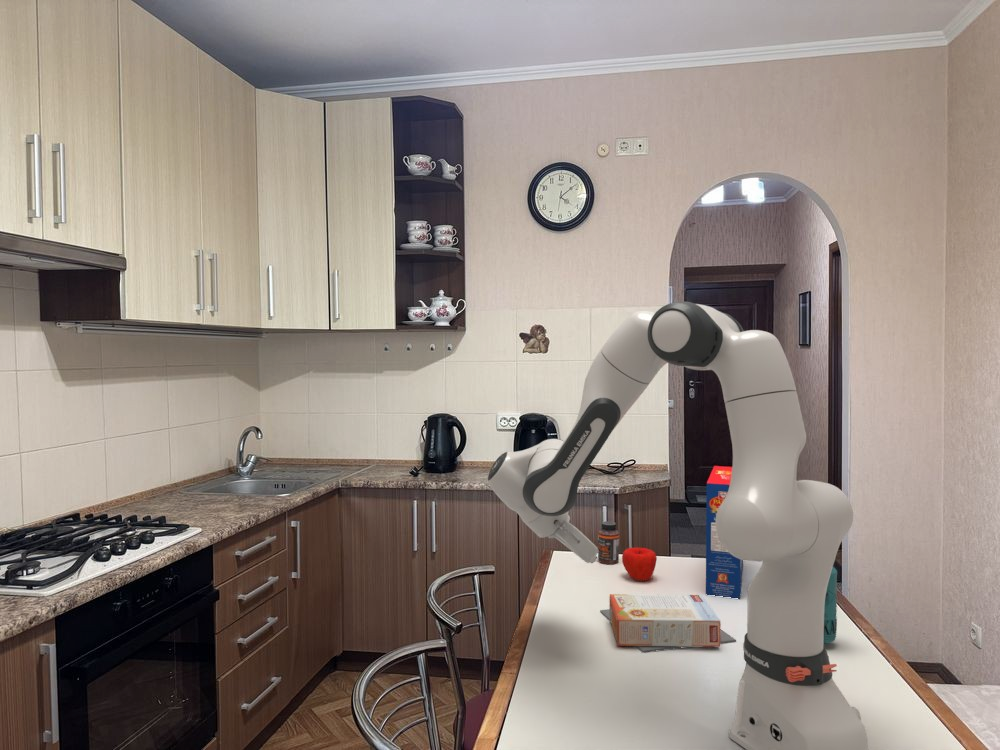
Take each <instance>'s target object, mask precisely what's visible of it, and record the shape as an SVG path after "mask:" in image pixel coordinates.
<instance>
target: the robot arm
mask: <svg viewBox="0 0 1000 750" xmlns="http://www.w3.org/2000/svg"><path fill="white" fill-rule="evenodd" d="M667 364H670V365H673V366H678V367H685V368H686V369H688V370H689V369H690V370H694V371H712V372H714V373H715V374H716V376H717V377H718V380H719V382H720V385H721V390H722V395H723V400H724V405H725V406H724V407H725V411H726V416H727V417H726V418H727V421H728V422H727V423H728V426H729V427H728V428H729V432H730V433H729V435H730V440H731V444H732V445H731V446H732V466H731V467H732V474H731V481H730V486H729V490H728V493H727V495H726V497H725V499H724V501H723V502H722V504H721V505H720V507H719V509H718V511H717V514H716V531H717V534H718V537H719V540H720V542H721V543H722V545H723V546H724V548H725V549H726V550H727V551H728V552H729V553H730V554H731V555H733V556H734V557H736V558H738V559H741V560H743V561H746V562H747V561H748V562H749V561H750V562H762V563H761V566H760V568H759V569H758V572H757V573H756V574H755V576H754V577H753V579H752V580H751V581H750V582H749V586H748V587H747V588H748V589H747V597H746V598H747V599H746V600H747V605H746V606H747V607H746V608H747V609H746V610H747V615H746V619H747V621H746V622H747V623H746V627H747V630H746V633H745V634H744V640H743V645H742V648H743V649H742V650H743V660H744V661H745V666H744V669H743V672H742V675H741V678H740V679H739V682H738V688H737V696H736V697H737V698H736V709H735V716H734V717H735V718H734V722H733V724H732V725H731V726H730V727H729V731H728V737H729V738H730V739H731V740H733V742H736V743H737V744H738V745H740V746H741V747H742V748H743V749H745V750H869V742H868V741H869V740H868V735H867V731H866V727H865V725H864V723H863V722H862V718H861V713H860V711H859V709H858V708H857V707H855V706H851V704H850V703H849V701H848V700H847V699H846V697H845V695H844V694H843V693H842V691H841V690H840V688H839V687H838V685H837V683H836V682H835V681H834V679H833V673H835V672H837V671H838V670H837V669H834V668H836V667H837V663H833V664H832V663H831V662H830V657H829V654H828V652H827V648H826V645H825V644H824V643H823V641H824V606H825V596H826V591H827V586H828V582H829V578H830V575H831V571H832V568H833V567H834V564H835V561H836V558H837V557H836V556H837V554H838V550H839V548H840V547H841V546H840V545H841V543H842V542H843V539H844V538H845V536H846V535H847V534H848V532H849V531H850V530H851V528H852V526H853V521H854V512H853V507H852V504H851V502H850V500H849V498H848V497H847V495H846V494H845V493H844V492H843V491H842V490H841V489H840V488H839V487H837V486H836V485H833V484H831V483H827V482H824V481H820V480H811V479H810V480H809V479H799V480H797V471H798V463H799V462H798V461H799V458H800V455H801V453H802V451H803V449H804V448H805V445H806V443H807V434H806V433H807V432H806V428H805V423H804V419H803V416H802V415H803V414H802V410H801V405H800V400H799V396H798V392H797V388H796V383H795V379H794V377H793V372H792V369H791V367H790V364H789V361H788V358H787V356H786V354H785V351H784V349H783V347H782V345H781V343H780V341H779V339H778V338H777V337H776V336H775V335H774V334H773V333H771V332H768V331H764V330H760V329H750V330H744V329H743V327H742V325H741V323H739V321H737V319H735V318H734V317H733V316H731V315H730V314H728V313H725V312H722V311H720V310H717V309H716V308H714V307H712V306H709V305H704V304H701V303H700V304H699V303H695V302H691V301H675V302H671V303H667V304H666V305H663V306H662V307H660V308H659V309H658V310H656V312H654V311H651V310H637V311H635V312H632V314H630V315H629V317H627V318H626V319H625V320H624V321H623V322H622V323H621V324H620V325H619V326H618V327H617V329H616V330H615V331H613V333H612V334H611V335H610V337H609V338H608V339H607V340H606V342H605V343H604V344H603V346H602V347H601V348H600V350H599V352H598V353H597V355H596V356H595V358H594V360H593V361H592V364H591V365H590V367H589V369H588V372H587V374H586V377H585V379H584V383H583V390H582V397H581V402H580V406H579V407H580V408H579V411H578V414H577V418H576V420H575V423H574V425H573V426H572V428H571V430H570V432H569V433H568V435H567V436H566V438H565V439H564V440H563V439H561V438H547V439H544V440H542V441H540V442H539V443H538V444H536V445H533V446H531V447H529V448H526V449H523V450H518V451H505V452H504V453H503V452H502V453H501V454H500V456H498V458H496V460H495V461H494V463H493V464H492V466H491V467H490V469H489V473H488V476H487V483H488V485H489V487H490V489H491V490H492V491H493V493H494V494H495V495H496V496H497V497H498V498H499V499H500V501H501V502H502V503H503V504H505V506H507V508H508V509H510V510H512V512H513V511H514V512H515V513H517V515H518V516H519V517H520V519H521V521H522V522H523V523H524V524H525V525H526V526H527V527H528V528H529V529H530V530H531V531H532V532H533V533H534V534H535V535H536V536H537V537H538V538H541V539H542V538H543V539H544V538H548V539H556V540H557V541H559V542H560V543H561V544H563V545H564V546H565V547H566V548H567V549H569V550H570V551H571V552H573V554H575V555H576V556H577V557H579V558H580V559H581V560H582V561H584V562H585V563H587V564H594V562H595V561H597V559H598V552H599V550H598V546H596V544H594V543H593V541H592V540H590V539H589V538H588V537H587V536H586V535H585V534H584V533H583V532H582V531H581V530H579V529H578V528H577V527H576V526H575V525H573V524H572V523H570V521H571V520H570V519H571V517H570V515H569V512H570V511H571V510H572V508H573V507H574V505H575V504H576V502H577V496H578V491H579V485H580V482H581V480H582V478H583V477H584V475H585V474H586V472H587V470H588V469H589V468H590V466H591V465H592V463H593V461H594V460H595V458H596V457H597V455H598V454H599V453H600V451H601V450H602V447H604V445H605V444H606V442H607V440H608V439H609V437H610V436H611V434H612V432H613V431H614V430H615V428H616V427H617V426H618V425H619V423H620V422H621V421H622V419H623V418H624V417H625V415H626V414H627V412H629V410H630V409H631V408H632V406H634V404H635V403H636V402H637V400H638V399H639V398H640V397H641V395H642V394H643V393H644V392H645V390H646V389H647V388H648V386H649V385H650V384H651V382H652V381H653V379H654V378H655V377H656V376H657V374H658V372H659V371H661V369H662V368H663V367H664V366H665V365H667Z"/></svg>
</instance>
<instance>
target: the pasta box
mask: <svg viewBox="0 0 1000 750" xmlns="http://www.w3.org/2000/svg"><path fill="white" fill-rule="evenodd" d="M731 474H732V466H723V465H722V466H719V465H713V468H712V470H711V472H710V475H709V477H708V479H707V481H706V502H705V503H706V509H705V510H706V517H705V519H706V522H705V525H706V526H705V528H706V530H705V533H706V534H705V543H706V544H705V595H706V594H707V595H706V596H708V595H715V596H714V597H716V596H723V597H722V598H724V597H731V598H730V599H732V598H738V599H737V600H741V595H740V594H742V582H743V574H744V573H743V571H744V560H741V559H738V558H736V557H734V556H733V555H731V554H730V553H729V552H728V551H727V550H726V549H725V548H724V546H723V545H722V543H721V542H720V540H719V537H718V534H717V531H716V514H717V511H718V509H719V507H720V505H721V504H722V502H723V501H724V499H725V497H726V495H727V493H728V490H729V486H730V481H731Z"/></svg>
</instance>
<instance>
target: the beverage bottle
mask: <svg viewBox="0 0 1000 750" xmlns="http://www.w3.org/2000/svg"><path fill="white" fill-rule="evenodd" d="M837 578H838V570H837V569H836V568H835V566H833V568H832V571H831V575H830V578H829V582H828V586H827V591H826V596H825V606H824V641H823V644H824V643H825V644H826V643H833V642H834V641H835V640H836V638H837V634H838V633H837V626H838V624H837V623H838V621H837V616H838V613H837V612H838V610H837V607H838V605H837V602H838V601H837V600H838V596H837V595H838V594H837V589H838V588H837V587H838V584H837V583H838V582H837V581H838V579H837Z"/></svg>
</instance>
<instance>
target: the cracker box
mask: <svg viewBox="0 0 1000 750" xmlns="http://www.w3.org/2000/svg"><path fill="white" fill-rule="evenodd" d="M608 601H609V608H608V609H609V616H610V621H611V622H610V621H609V622H610V623H611V627H612V631H613V634H614V638H615V640H616V643H617V644H616V645H617V646H623V647H624V646H625V647H628V646H629V647H630V646H632V647H636V646H686V647H687V648H693V647H694V648H695V647H697V648H704V647H705V648H721V644H722V643H721V632H720V629H721V625H722V624H721V619H720V618H719V617H718V615H717V614H716V613H715V612H716V611H714V609H713V608H712V606H711V604H709V602H708V600H707V599H706V598H705V596H704V595H703V594H627V593H626V594H623V593H622V594H619V593H618V594H616V593H615V594H614V593H613V594H609V600H608Z"/></svg>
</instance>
